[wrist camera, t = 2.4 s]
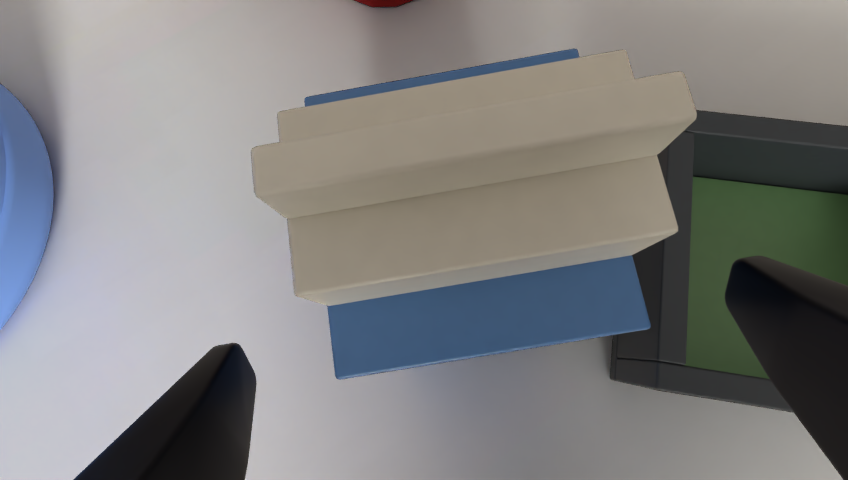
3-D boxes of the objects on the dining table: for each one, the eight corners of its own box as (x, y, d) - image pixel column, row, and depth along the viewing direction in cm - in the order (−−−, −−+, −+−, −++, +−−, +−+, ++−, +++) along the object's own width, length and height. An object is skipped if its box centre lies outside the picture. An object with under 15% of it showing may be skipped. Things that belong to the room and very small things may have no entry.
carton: (545, 337, 18) (767, 319, 5) (399, 360, 18) (267, 400, 5) (515, 197, 19) (634, -91, 6) (379, 220, 19) (234, -16, 6)
